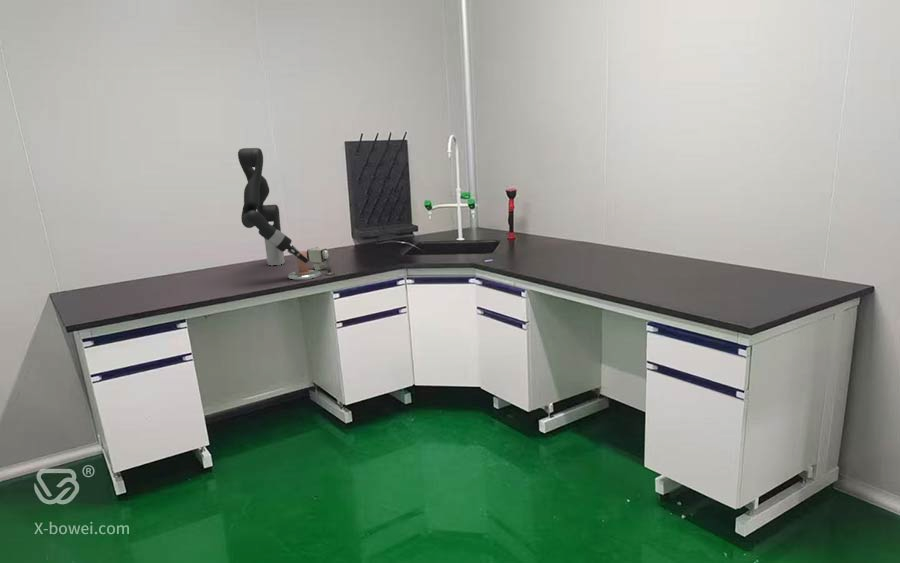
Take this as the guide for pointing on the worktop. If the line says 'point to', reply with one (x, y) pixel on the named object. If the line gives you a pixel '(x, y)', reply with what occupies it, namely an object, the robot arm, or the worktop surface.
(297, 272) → the cast cover
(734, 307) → the worktop surface
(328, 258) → the dial post
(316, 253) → the pneumatic valve
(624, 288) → the worktop surface
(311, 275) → the disc
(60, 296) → the worktop surface
